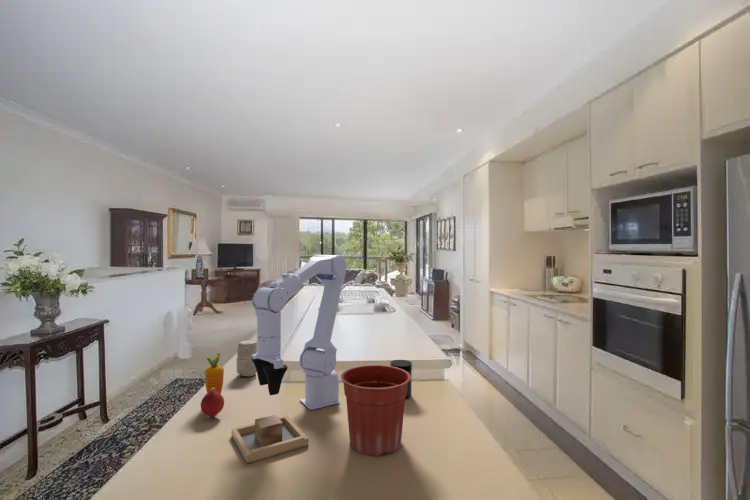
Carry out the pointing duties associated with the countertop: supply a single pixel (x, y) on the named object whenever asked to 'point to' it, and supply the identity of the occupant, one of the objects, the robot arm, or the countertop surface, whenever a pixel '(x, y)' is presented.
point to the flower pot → (375, 407)
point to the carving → (246, 358)
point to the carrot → (214, 375)
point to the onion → (212, 403)
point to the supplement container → (407, 367)
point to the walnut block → (268, 430)
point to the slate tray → (253, 451)
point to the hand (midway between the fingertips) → (268, 389)
